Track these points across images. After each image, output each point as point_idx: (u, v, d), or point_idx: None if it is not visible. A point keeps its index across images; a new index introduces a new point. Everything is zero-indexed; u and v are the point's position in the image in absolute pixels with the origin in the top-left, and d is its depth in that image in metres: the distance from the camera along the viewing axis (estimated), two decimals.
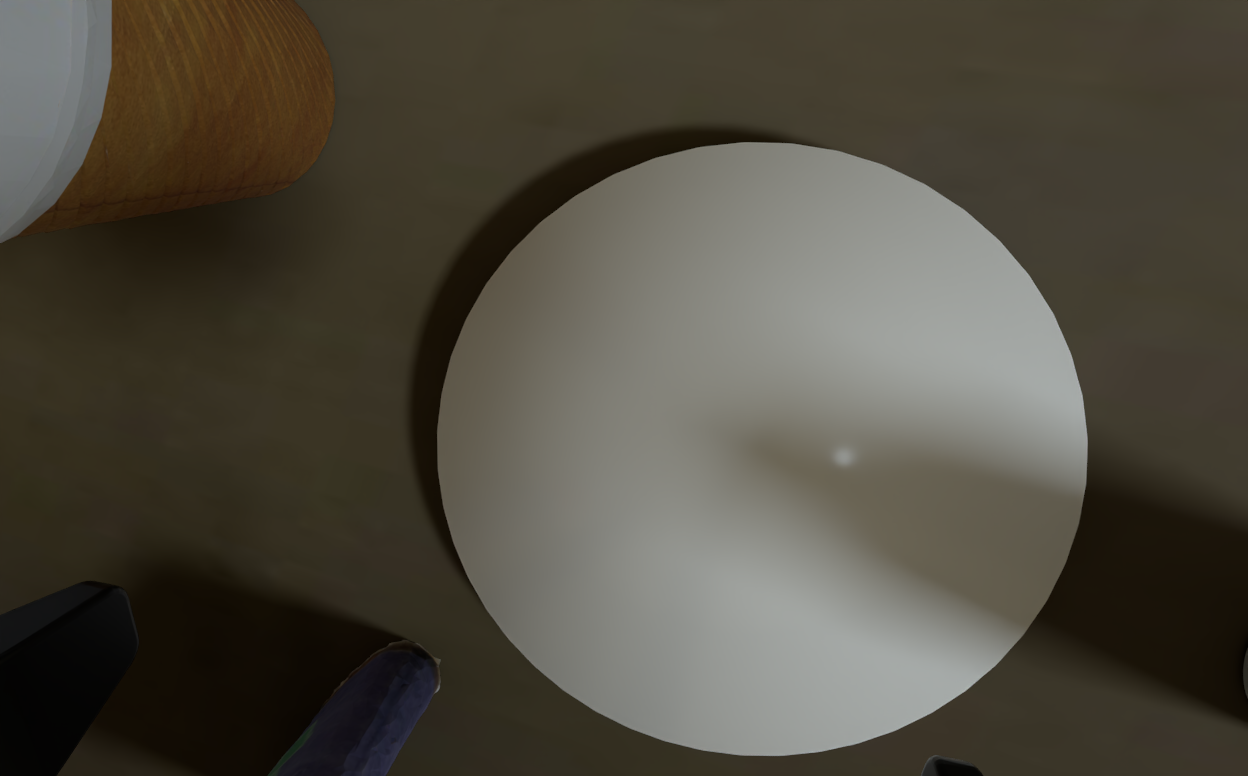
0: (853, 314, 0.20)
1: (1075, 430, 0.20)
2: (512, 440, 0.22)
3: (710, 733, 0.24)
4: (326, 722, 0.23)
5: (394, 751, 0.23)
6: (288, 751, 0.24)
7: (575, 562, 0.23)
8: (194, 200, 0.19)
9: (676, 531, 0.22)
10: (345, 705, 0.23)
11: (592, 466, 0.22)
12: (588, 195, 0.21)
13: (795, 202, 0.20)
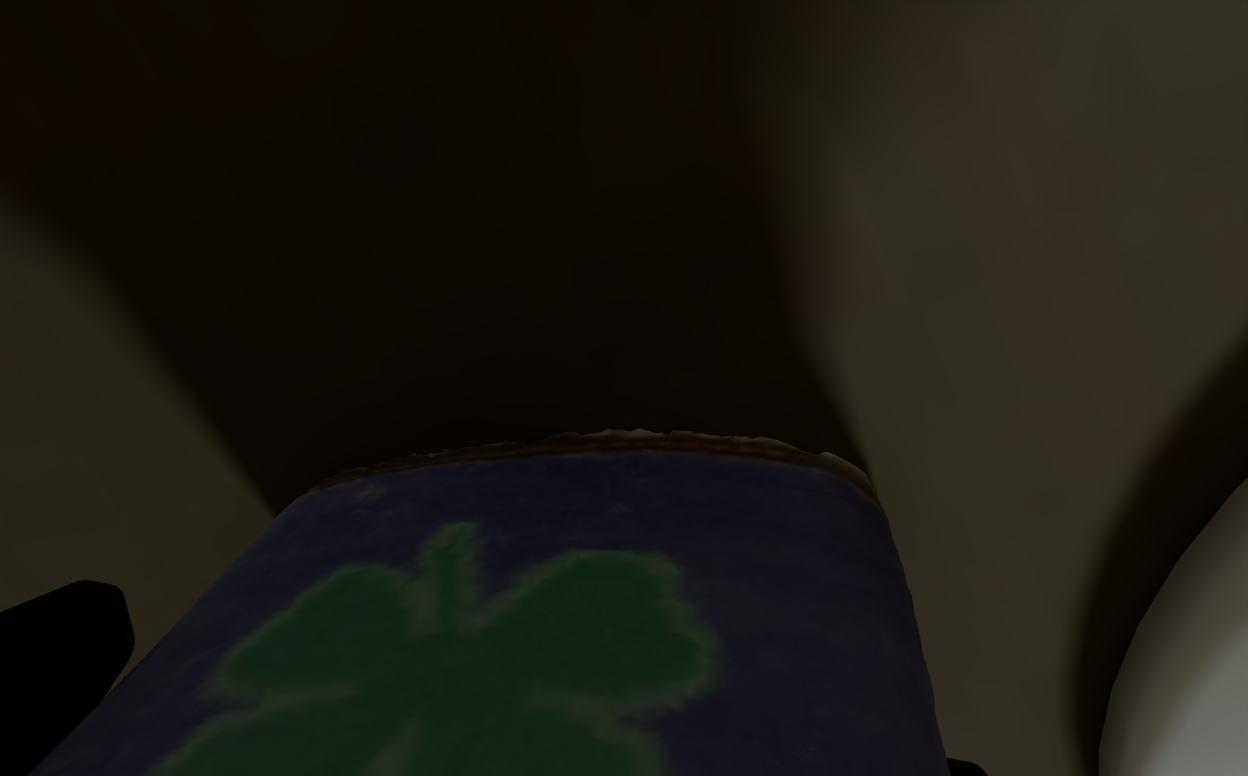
0: None
1: None
2: None
3: None
4: (797, 656, 0.07)
5: None
6: (547, 575, 0.08)
7: None
8: None
9: None
10: (846, 632, 0.07)
11: None
12: None
13: None
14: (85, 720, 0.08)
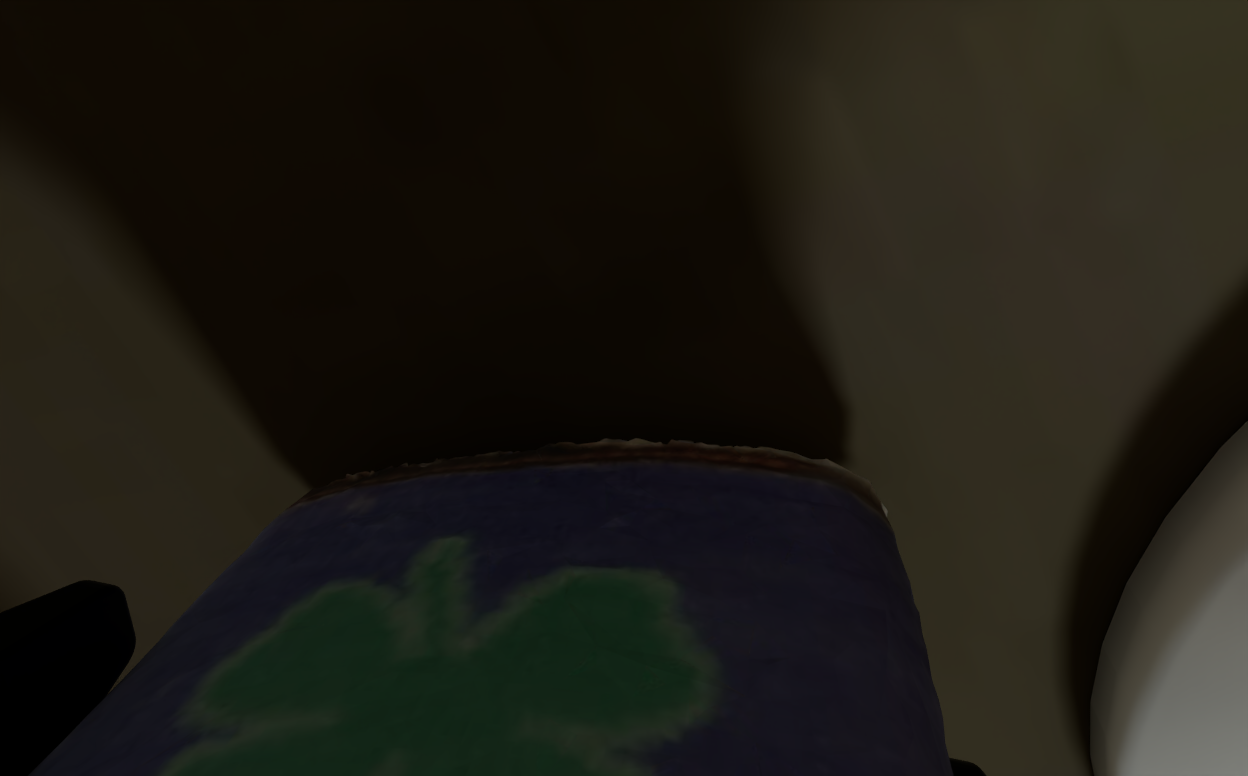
0: None
1: None
2: None
3: None
4: (800, 682, 0.07)
5: None
6: (539, 593, 0.08)
7: None
8: None
9: None
10: (851, 655, 0.07)
11: None
12: None
13: None
14: (59, 746, 0.07)
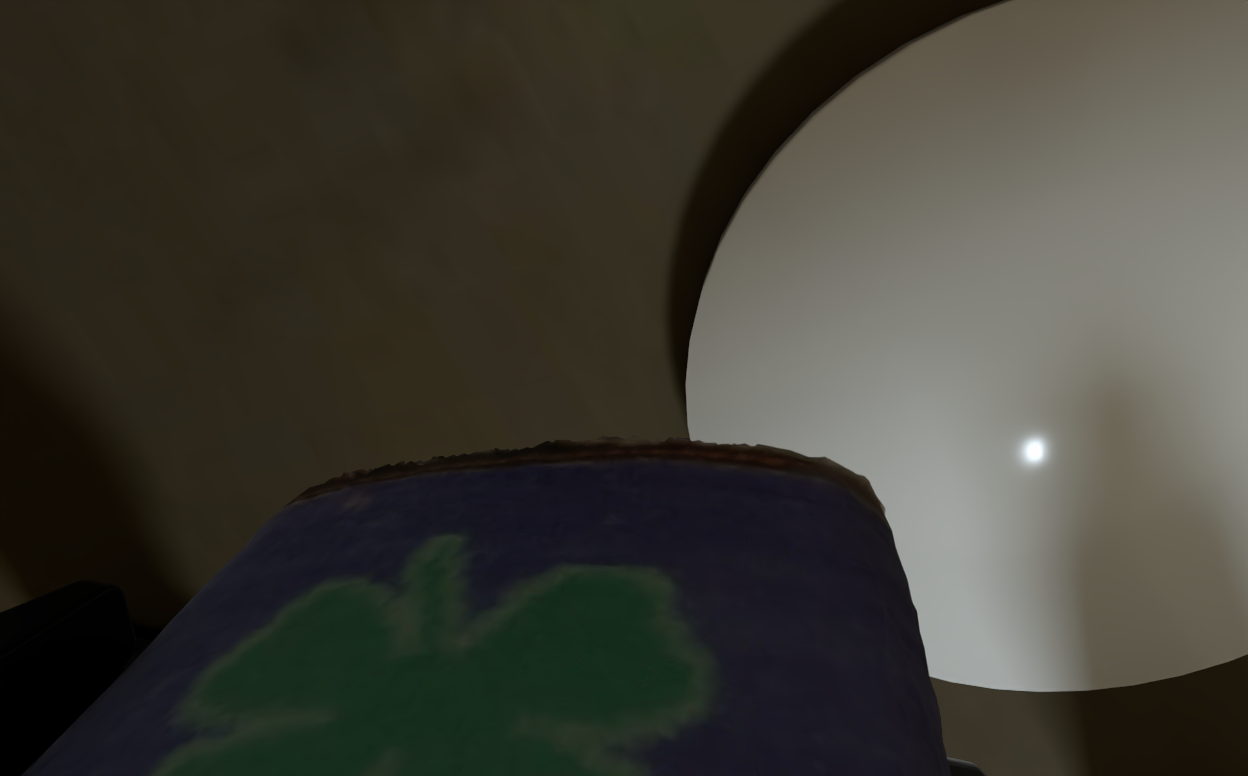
0: None
1: None
2: (922, 169, 0.16)
3: None
4: (796, 679, 0.07)
5: None
6: (535, 591, 0.08)
7: (834, 335, 0.18)
8: None
9: (953, 395, 0.18)
10: (848, 653, 0.07)
11: (960, 269, 0.17)
12: None
13: None
14: (54, 744, 0.07)
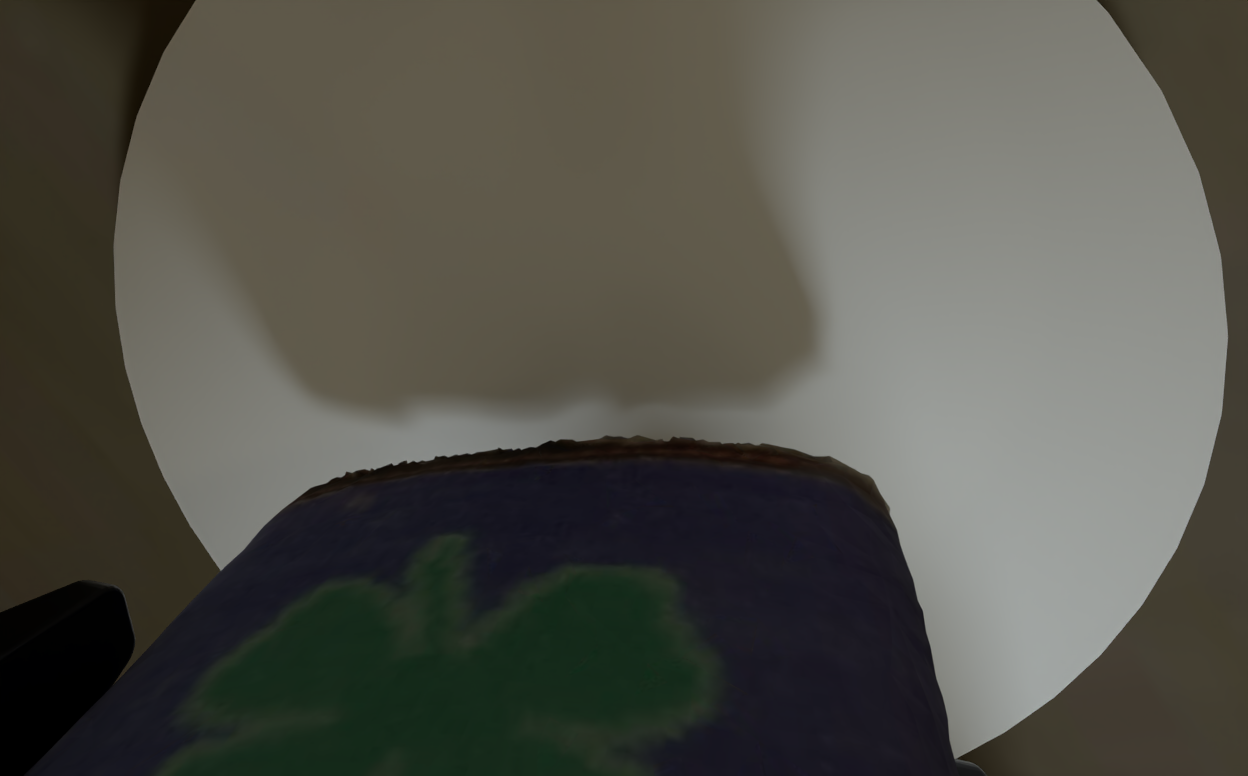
0: (944, 400, 0.11)
1: (1005, 715, 0.14)
2: (321, 120, 0.11)
3: None
4: (803, 680, 0.07)
5: None
6: (540, 591, 0.08)
7: (291, 357, 0.13)
8: None
9: (462, 436, 0.13)
10: (855, 653, 0.07)
11: (416, 264, 0.12)
12: None
13: (1057, 187, 0.10)
14: (55, 745, 0.07)
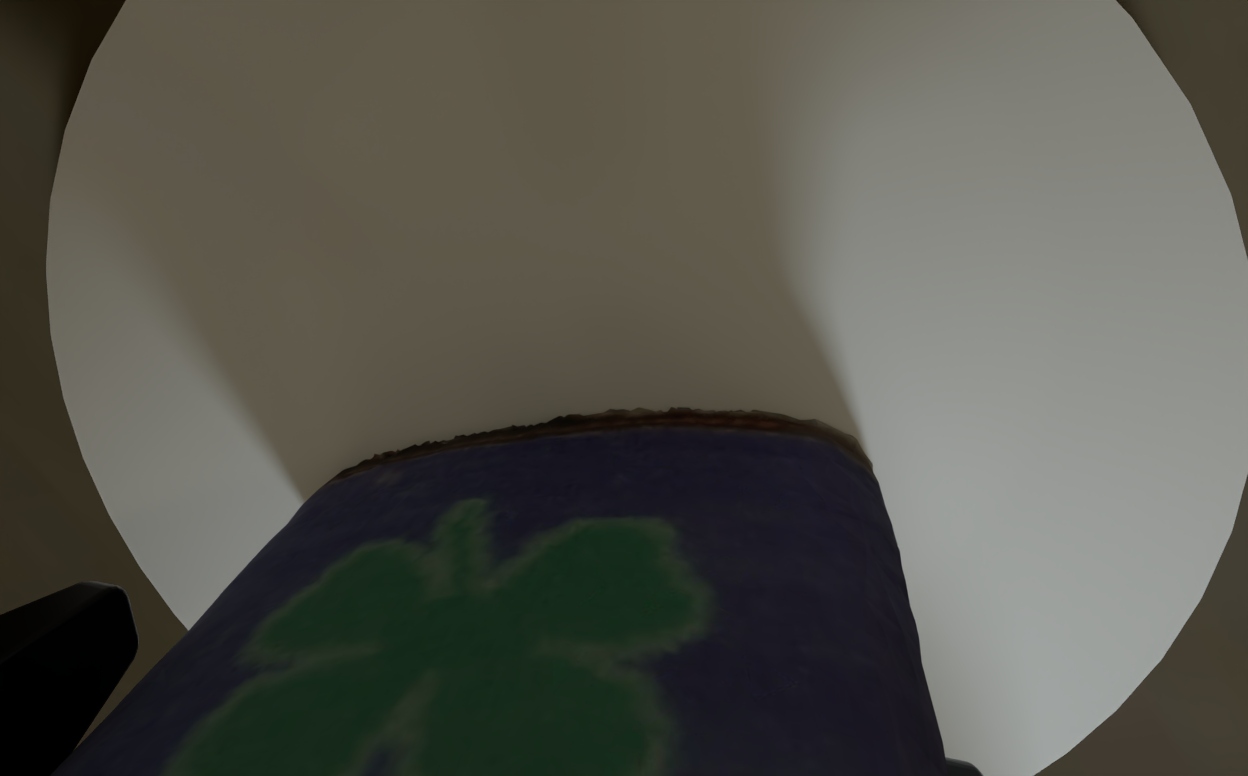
0: (948, 440, 0.11)
1: (1014, 771, 0.13)
2: (265, 134, 0.10)
3: None
4: (785, 603, 0.07)
5: None
6: (552, 541, 0.09)
7: (241, 390, 0.12)
8: None
9: None
10: (832, 581, 0.08)
11: (372, 290, 0.11)
12: None
13: (1073, 210, 0.09)
14: (133, 690, 0.08)
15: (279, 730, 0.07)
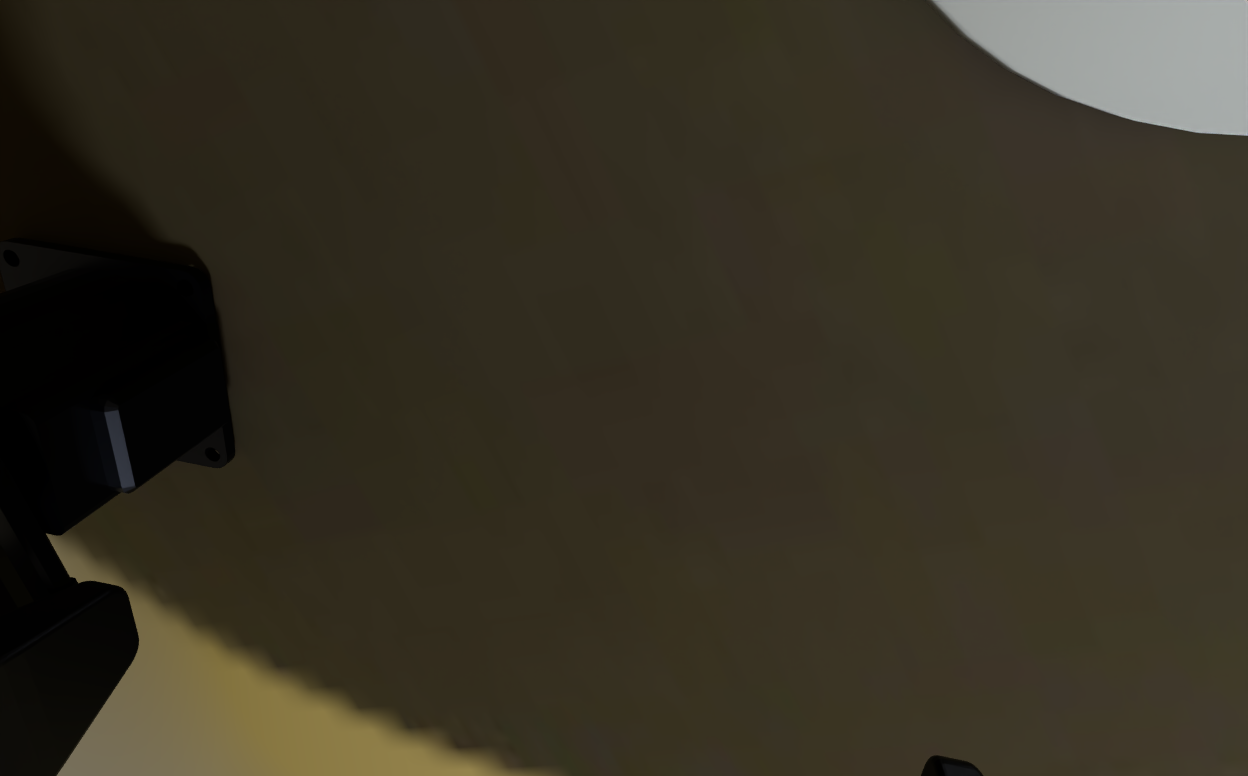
0: None
1: None
2: None
3: None
4: None
5: None
6: None
7: None
8: None
9: None
10: None
11: None
12: None
13: None
14: None
15: None
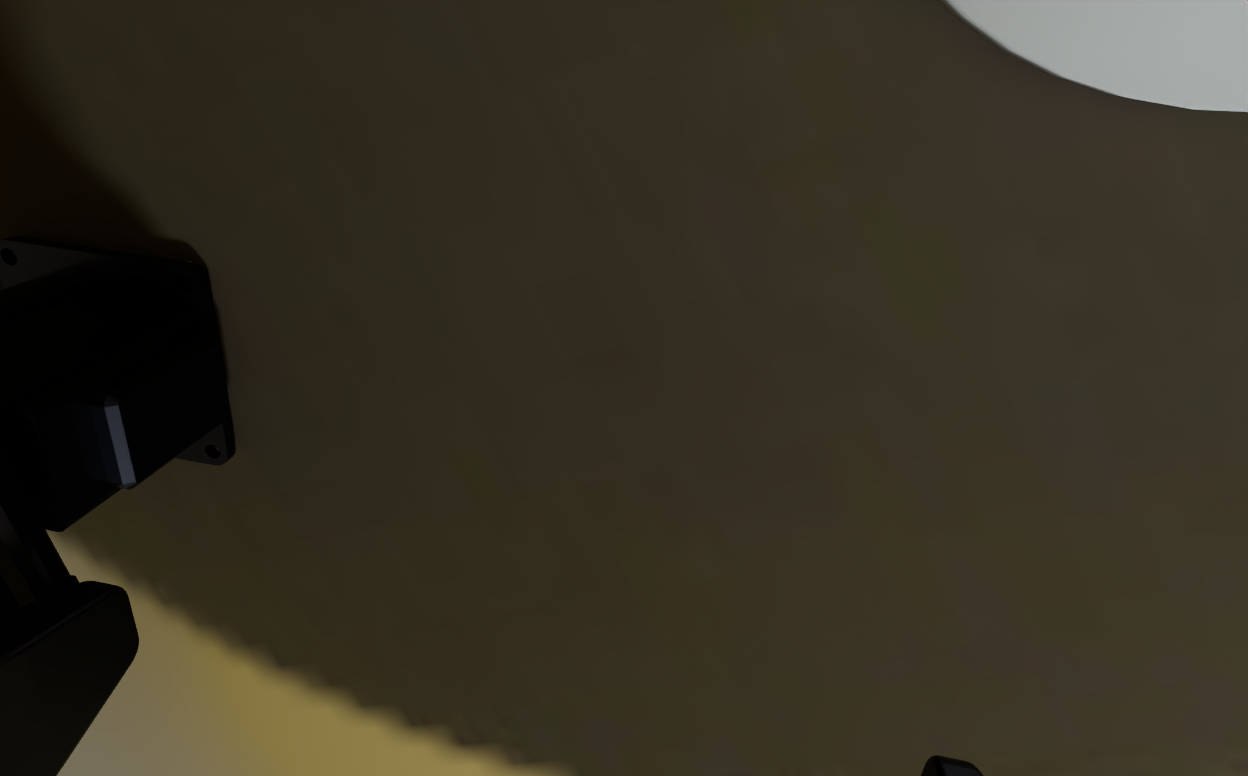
0: None
1: None
2: None
3: None
4: None
5: None
6: None
7: None
8: None
9: None
10: None
11: None
12: None
13: None
14: None
15: None
